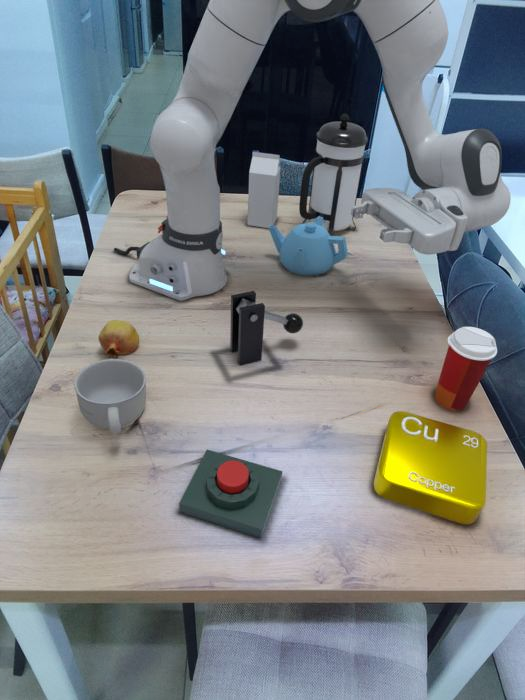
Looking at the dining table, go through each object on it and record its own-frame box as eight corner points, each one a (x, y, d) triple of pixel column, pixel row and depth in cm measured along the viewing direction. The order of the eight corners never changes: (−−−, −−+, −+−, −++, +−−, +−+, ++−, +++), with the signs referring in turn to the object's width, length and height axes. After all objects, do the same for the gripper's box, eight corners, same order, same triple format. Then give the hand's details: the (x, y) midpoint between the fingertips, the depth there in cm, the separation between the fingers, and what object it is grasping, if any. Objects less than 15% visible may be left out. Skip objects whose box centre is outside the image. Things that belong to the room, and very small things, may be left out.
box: (179, 512, 71) (178, 495, 68) (207, 458, 78) (206, 441, 76) (261, 538, 68) (262, 522, 66) (281, 480, 76) (283, 463, 73)
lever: (290, 327, 99) (301, 312, 97) (299, 339, 96) (310, 323, 95) (232, 309, 90) (242, 292, 88) (239, 321, 87) (250, 303, 86)
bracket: (261, 342, 101) (264, 283, 92) (277, 367, 95) (283, 307, 86) (213, 353, 97) (212, 293, 89) (228, 380, 92) (228, 318, 83)
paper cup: (472, 391, 93) (499, 331, 84) (472, 420, 87) (500, 359, 78) (429, 380, 95) (451, 320, 86) (426, 408, 89) (448, 346, 80)
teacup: (89, 391, 88) (81, 357, 83) (152, 390, 89) (148, 355, 84) (73, 456, 77) (62, 420, 72) (145, 453, 78) (139, 418, 73)
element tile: (370, 495, 74) (376, 475, 71) (387, 424, 85) (393, 404, 82) (475, 530, 71) (487, 510, 68) (479, 451, 82) (489, 432, 79)
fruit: (103, 309, 97) (85, 341, 89) (136, 305, 96) (121, 336, 88) (116, 338, 101) (100, 370, 93) (148, 334, 100) (135, 366, 92)
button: (212, 488, 70) (212, 481, 69) (223, 464, 73) (223, 456, 72) (242, 498, 69) (242, 490, 68) (252, 472, 72) (252, 465, 71)
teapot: (292, 285, 118) (297, 244, 111) (265, 255, 128) (267, 215, 121) (347, 273, 123) (355, 233, 116) (317, 245, 133) (322, 207, 126)
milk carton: (272, 229, 139) (277, 159, 127) (247, 225, 140) (249, 156, 128) (276, 218, 145) (281, 151, 133) (252, 215, 146) (255, 147, 133)
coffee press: (300, 213, 148) (312, 102, 129) (355, 218, 147) (375, 108, 128) (295, 240, 135) (307, 122, 116) (355, 247, 134) (377, 128, 115)
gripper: (401, 176, 98) (340, 184, 93) (474, 221, 84) (405, 233, 79) (394, 207, 102) (335, 216, 97) (462, 255, 88) (396, 268, 83)
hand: (367, 224), depth 88 cm, fingers open, 8 cm apart
